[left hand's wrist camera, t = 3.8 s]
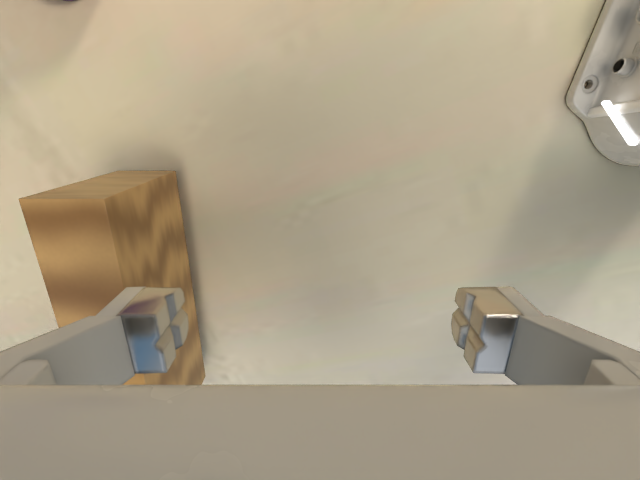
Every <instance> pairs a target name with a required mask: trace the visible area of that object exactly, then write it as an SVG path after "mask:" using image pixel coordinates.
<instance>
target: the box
mask: <svg viewBox="0 0 640 480" xmlns="http://www.w3.org/2000/svg"><path fill="white" fill-rule="evenodd" d="M19 202H20V205H21V208H22V211H23V215H24V218H25V221H26V224H27V227H28V231H29V234H30V237H31V240H32V243H33V247H34V250H35V253H36V256H37V259H38V263H39V266H40V269H41V272H42V275H43V279H44V282H45V285H46V288H47V291H48V295H49V298H50V301H51V304H52V307H53V311H54V314H55V317H56V320H57V323H58V327H59V328H61V327H63V326H66V325H68V324H71V323H73V322H76V321H78V320H81V319H83V318H86V317H88V316H96V315H97V314H98V313H99V312H100V311H101V310H102V309H103V308H104V307H105V306H107V305H108V304H109V303H110V302H111V301H112V300H113V299H114V298H115V297H116V296H118V295H119V294H120V293H121V292H122V291H123V290H124V289H125V288H126V287H144V286H145V287H180V288H181V289H182V290H183V291H184V296H185V302H184V304H183V305H182V307H181V308H182V309H183V310H184V311H185V312H186V313H187V314H188V321H189V329H188V334H187V338H186V340H185V342H184V344H183V346H181V347H180V348H178V349H176V350H175V351H176V358H175V360H174V361H173V363H172V365H171V366H170V368H169V370H168V371H167V373H146V374H135V376H133V377H132V378H131V379H129V380H128V381H127V382H125V383H124V384H123V385H202V382H203V380H204V378H205V370H204V363H203V356H202V350H201V343H200V336H199V329H198V322H197V315H196V308H195V301H194V295H193V288H192V281H191V274H190V267H189V260H188V253H187V247H186V240H185V233H184V226H183V219H182V212H181V205H180V199H179V192H178V185H177V178H176V171H116V172H112V173H109V174H105V175H102V176H98V177H94V178H91V179H87V180H84V181H80V182H77V183H73V184H70V185H66V186H63V187H59V188H55V189H52V190H48V191H45V192H41V193H38V194H34V195H31V196H27V197H23V198H20V199H19Z"/></svg>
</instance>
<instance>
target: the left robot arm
mask: <svg viewBox="0 0 640 480" xmlns="http://www.w3.org/2000/svg"><path fill="white" fill-rule="evenodd" d="M586 81H587V82H588V85H587V87H586V88H585V87H584V84H585V82H586ZM566 103H567V106H568V107H569V109H570V110H571V111H572V112H573V113H574V114H576V115H577V116H578V117H579V118H580V119H582V120H583V122H584V124H585V126H586V128H587V131H588V134H589V136H590V139H591V141H592V142H593V144H594V146H595V147H596V148H597V150H598V151H599V152H600V153H601V154H602V155H604V156H605V157H606V158H608V159H609V160H611V161H613V162H616V163H619V164H623V165H629V166H640V0H606V2H605V4H604V7H603V9H602V12H601V14H600V16H599V19H598V21H597V24H596V26H595V28H594V31H593V33H592V35H591V38H590V40H589V43H588V45H587V47H586V50H585V52H584V55H583V57H582V59H581V62H580V64H579V67H578V69H577V71H576V74H575V76H574V79H573V81H572V83H571V86H570V88H569V90H568V93H567V96H566ZM184 302H185V296H184V291H183V290H182V289H181V288H180V287H145V286H144V287H126V288H125V289H124V290H123V291H122V292H121V293H120V294H119V295H118V296H116V297H115V298H114V299H113V300H112V301H111V302H110V303H109V304H108V305H107V306H105V307H104V308H103V309H102V310H101V311H100V312H99V313H98V314H97V315H96V316H88V317H86V318H83V319H81V320H78V321H76V322H73V323H71V324H68V325H66V326H63V327H61V328H58V329H56V330H53V331H51V332H48V333H46V334H43V335H41V336H38V337H36V338H33V339H31V340H28V341H26V342H23V343H21V344H18V345H16V346H13V347H11V348H8V349H6V350H3V351H1V352H0V480H640V352H639V351H636V350H634V349H631V348H629V347H626V346H624V345H621V344H619V343H616V342H614V341H611V340H609V339H607V338H604V337H602V336H599V335H597V334H594V333H592V332H589V331H587V330H584V329H582V328H579V327H577V326H574V325H572V324H569V323H567V322H564V321H562V320H559V319H557V318H554V317H552V316H544V315H543V314H542V313H541V312H540V311H539V310H538V309H537V308H536V307H535V306H533V305H532V304H531V303H530V302H529V301H528V300H527V299H526V298H525V297H524V296H523V295H521V294H520V293H519V292H518V291H517V290H516V289H515V288H513V287H510V286H507V287H465V288H458V290H457V292H456V296H455V302H456V304H457V305H458V307H459V308H458V309H457V310H456V311H455V312H454V313H453V314H452V322H451V327H452V334H453V338H454V340H455V342H456V344H457V346H459V347H460V348H462V349H464V358H465V360H466V361H467V363H468V365H469V366H470V368H471V370H472V371H473V373H494V374H505V376H507V377H508V378H509V379H511V380H512V381H513V382H515V383H516V384H518V385H123V384H124V383H125V382H127V381H128V380H129V379H131V378H132V377H133V376H135V374H146V373H167V371H168V370H169V368H170V366H171V365H172V363H173V361H174V360H175V358H176V351H175V350H176V349H178V348H180V347H181V346H183V344H184V342H185V340H186V338H187V334H188V329H189V321H188V314H187V313H186V312H185V311H184V310H183V309H182V308H181V307H182V305H183V304H184Z"/></svg>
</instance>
